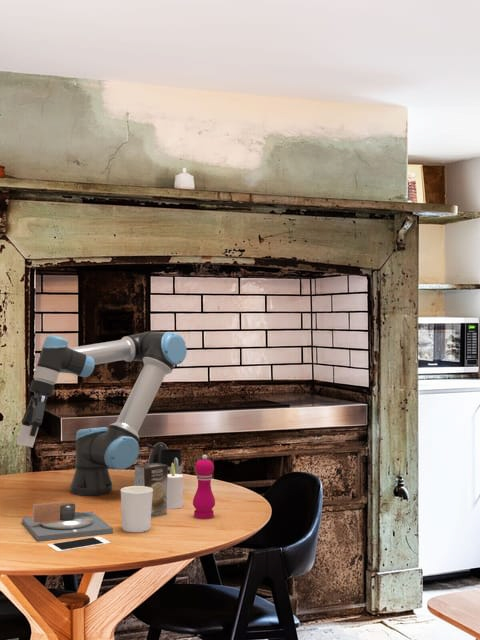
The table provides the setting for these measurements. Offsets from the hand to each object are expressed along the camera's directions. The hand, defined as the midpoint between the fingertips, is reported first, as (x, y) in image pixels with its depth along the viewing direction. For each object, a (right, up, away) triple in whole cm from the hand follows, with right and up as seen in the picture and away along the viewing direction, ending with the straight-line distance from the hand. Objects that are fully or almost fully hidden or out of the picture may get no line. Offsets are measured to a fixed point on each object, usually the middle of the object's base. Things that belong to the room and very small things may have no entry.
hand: (24, 445), depth 262 cm
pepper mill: (+58, -23, +2) cm, 62 cm away
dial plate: (+17, -22, -15) cm, 32 cm away
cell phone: (+24, -23, -32) cm, 46 cm away
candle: (+47, -23, +14) cm, 54 cm away
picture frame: (+45, -23, +34) cm, 61 cm away
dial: (+16, -21, -16) cm, 31 cm away
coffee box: (+40, -23, +3) cm, 46 cm away
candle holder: (+38, -23, -15) cm, 47 cm away
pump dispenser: (+38, -22, +54) cm, 70 cm away
